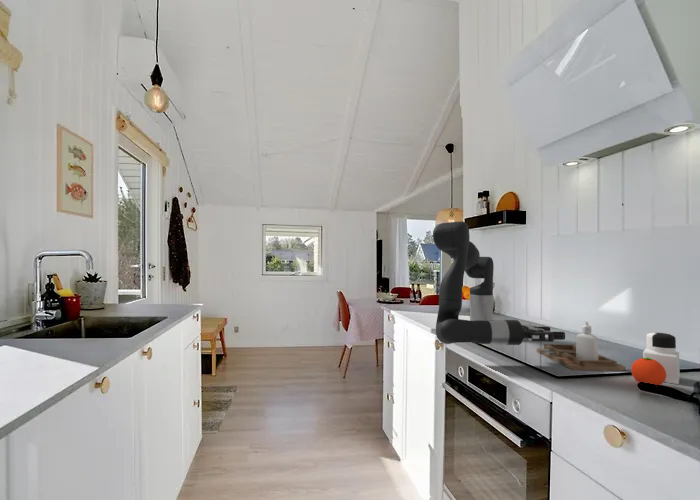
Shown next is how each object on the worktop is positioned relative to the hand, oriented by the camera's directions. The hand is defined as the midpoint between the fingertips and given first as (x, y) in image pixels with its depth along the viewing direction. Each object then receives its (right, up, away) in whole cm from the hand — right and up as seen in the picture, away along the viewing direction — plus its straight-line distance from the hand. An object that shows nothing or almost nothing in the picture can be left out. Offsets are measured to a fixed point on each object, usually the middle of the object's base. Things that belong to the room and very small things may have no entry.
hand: (556, 332), depth 113 cm
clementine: (+12, -9, -19) cm, 25 cm away
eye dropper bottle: (+9, -9, -1) cm, 12 cm away
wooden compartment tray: (+9, -10, +5) cm, 14 cm away
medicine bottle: (+21, -9, -14) cm, 26 cm away
